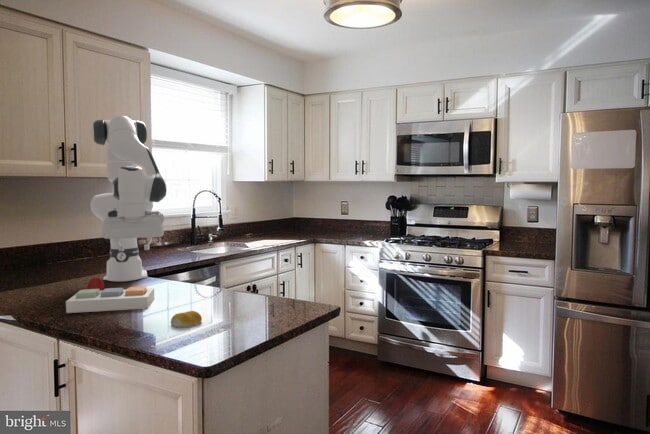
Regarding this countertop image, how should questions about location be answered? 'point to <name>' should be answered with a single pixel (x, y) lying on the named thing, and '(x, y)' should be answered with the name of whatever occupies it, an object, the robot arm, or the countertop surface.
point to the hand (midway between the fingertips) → (134, 250)
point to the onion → (96, 283)
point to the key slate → (112, 292)
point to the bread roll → (186, 319)
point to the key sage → (88, 293)
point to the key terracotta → (135, 291)
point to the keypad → (110, 302)
